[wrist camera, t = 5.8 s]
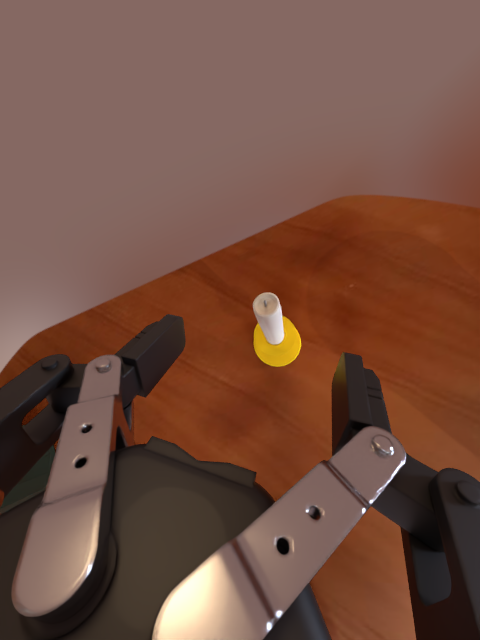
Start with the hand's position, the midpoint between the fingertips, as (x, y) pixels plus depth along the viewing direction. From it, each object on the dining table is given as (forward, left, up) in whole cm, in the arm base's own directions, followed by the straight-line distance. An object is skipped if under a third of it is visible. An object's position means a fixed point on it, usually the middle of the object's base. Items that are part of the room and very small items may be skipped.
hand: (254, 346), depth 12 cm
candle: (-2, +2, -16) cm, 16 cm away
